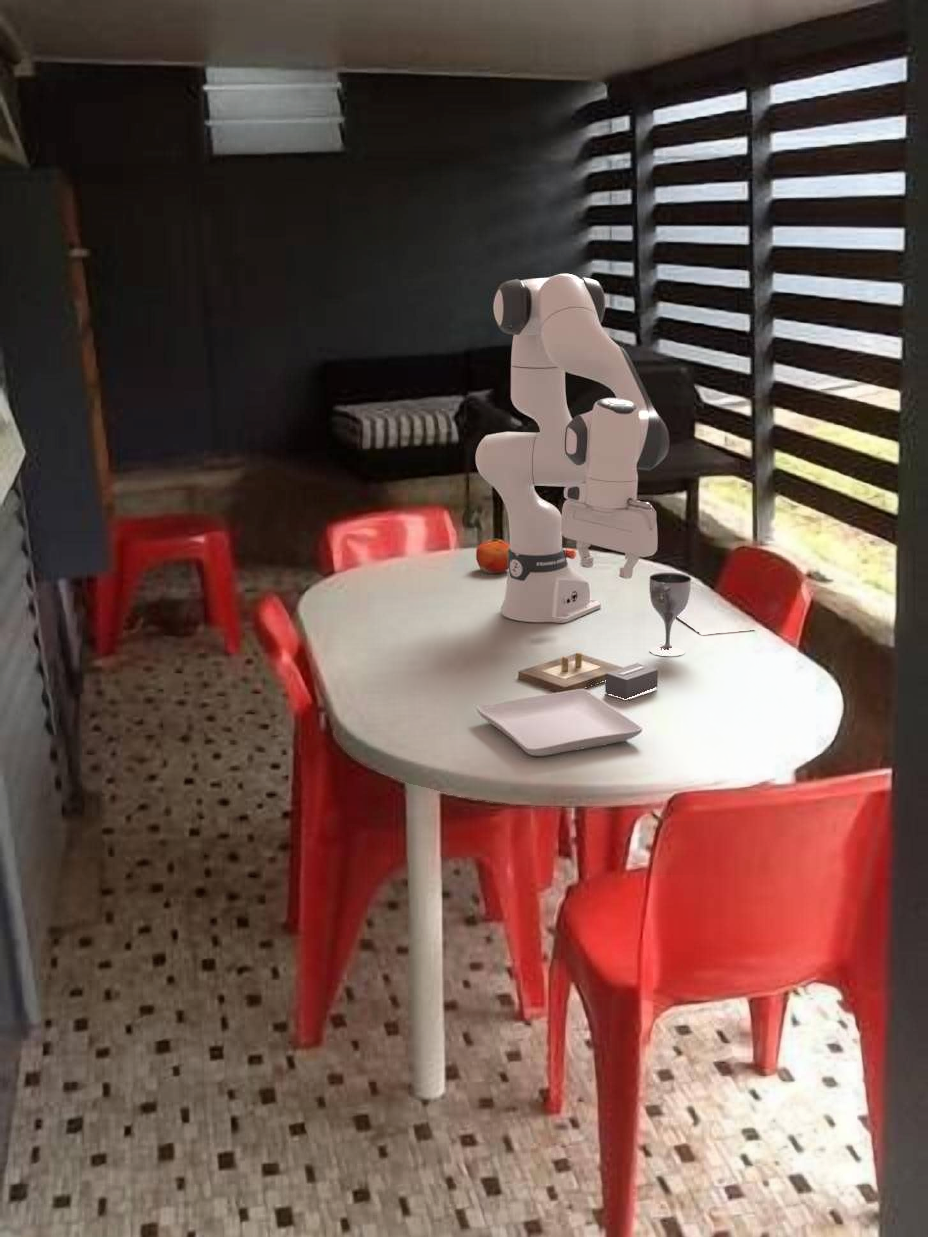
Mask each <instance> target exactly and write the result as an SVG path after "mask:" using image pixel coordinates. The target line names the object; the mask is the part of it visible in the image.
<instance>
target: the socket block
mask: <svg viewBox="0 0 928 1237" xmlns="http://www.w3.org/2000/svg"><path fill="white" fill-rule="evenodd" d="M622 667H623V668H620V669H617V670H614V671H611V672H608V673H606V682H604V684H605V685H604V686H605V688H604V691H605V692H606V693H607V694H612V695H614V696H618V697H621V698H624V699H627V698H629V697H632V696H635V695H637V694H640V693H642V692H645V691H647V690H650V689H653V688H655V687H657V688H658V682H659V680H658V679H659V678H658V676H659V669H657V668H654V667H652V666H648V665H644V664H642V663H638V662H636V663H632V664H630V665H626V666H622ZM605 692H604V693H605Z"/></svg>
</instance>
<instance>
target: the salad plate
mask: <svg viewBox="0 0 928 1237" xmlns="http://www.w3.org/2000/svg"><path fill="white" fill-rule="evenodd" d="M476 711H477V713H478V714H479V716H480V717H482V718H483V719H484V720H485V721H486V722H488V723H489V724H491V725H492V726H494V727H495V728H497V729H498V730H500V731H501V732H502V733H503V734H505V735H506V737H508V738H510V739H511V740H512V742H514V743H516V744H517V745H518V746H519V747H520V748H521V749H522V750H523V751H524V752H526V754H528V755H531V756H534V757H542V756H549V755H551V756H552V755H556V753H557V754H561V752H563V753H567V752H566V751H569V752H572V751H571V750H575V751H578V750H577V749H580V750H583V749H582V748H586V749H589V748H588V747H591V748H595V747H594V746H597V747H600V746H599V745H602V746H605V745H604V744H607V745H610V744H609V743H611V744H615V743H620V742H625V741H628V740H631V739H633V738H635V737H636V736H638V735H640V734H641V733H642V731H643V728H642V726H641V725H639V724H638V723H636V722H635V721H634V720H631V719H630V718H628V717H627V716H625V714H623V713H622V712H620V711H618V710H616V709H615V708H614V707H613V706H611V705H609V704H608V703H607V702H605V701H603V700H602V699H601V698H600V697H598V696H596V695H595V694H593V693H591V692H590V691H589V690H587V689H586V688H585V689H577V690H571V691H564V692H558V693H557V692H553V693H547V694H546V693H545V694H540V695H539V694H538V695H535V696H529V697H523V698H518V699H511V700H505V701H501V702H500V701H499V702H494V703H489V704H482V705H477V706H476Z"/></svg>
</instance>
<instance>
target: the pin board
mask: <svg viewBox="0 0 928 1237" xmlns="http://www.w3.org/2000/svg"><path fill="white" fill-rule="evenodd" d="M623 667H624V666H620V665H617V664H614V663H611V662H608V661H605V660H602V659H599V658H595V657H592V656H589V655H586V654H583V653H582V652H576V653H573V654H570V655H567V656H566V655H565V656H562V657H560V658H557V659H554V660H551V661H550V660H549V661H547V662H544V663H540V664H538V665H534V666H531V667H528V668H524V669H521V670H517V673H518V674H517V679H518V680H521V681H524V682H526V683H529V684H531V683H532V684H531V685H535V686H538V687H540V688H542V689H546V690H548V689H549V691H551V690H552V691H551V692H553V693H557V692H564V691H571V690H577V689H584V688H585V687H588V688H591V687H592V686H591V685H594V686H596V685H595V684H597V683H600V682H602V681H605V680H606V673H608V672H611V671H614V670H617V669H620V668H623ZM600 684H601V683H600ZM597 685H598V684H597ZM590 686H591V687H590ZM585 689H586V688H585Z"/></svg>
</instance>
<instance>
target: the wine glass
mask: <svg viewBox="0 0 928 1237" xmlns="http://www.w3.org/2000/svg"><path fill="white" fill-rule="evenodd" d="M648 584H649V598H650V602H651V605H652V607H653V609H654V610H655V611H656V613H658V615H659V616H660V617H661V619H662V620H663V623H664V628H665V643H664V645H661V646H662V647H660V648H661V650H662V648H663V649H664V650H666V649H667V650H669V648H672V646H673V645H671V644H670V643H671V642H670V641H671V640H670V639H671V630H672V625H673V623H674V621H675V620H676V619H677V618H676V617H677V616H678V615H679V614H680V613H681V612H682V611H683V610H684V609H685V607H686V605H688V602H689V600H690V594H691V587H692V586H691V585H692V578H691V576H689V575H687V574H683V573H677V572H657V573H653V574H651V575H650V576H649V583H648Z"/></svg>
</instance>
